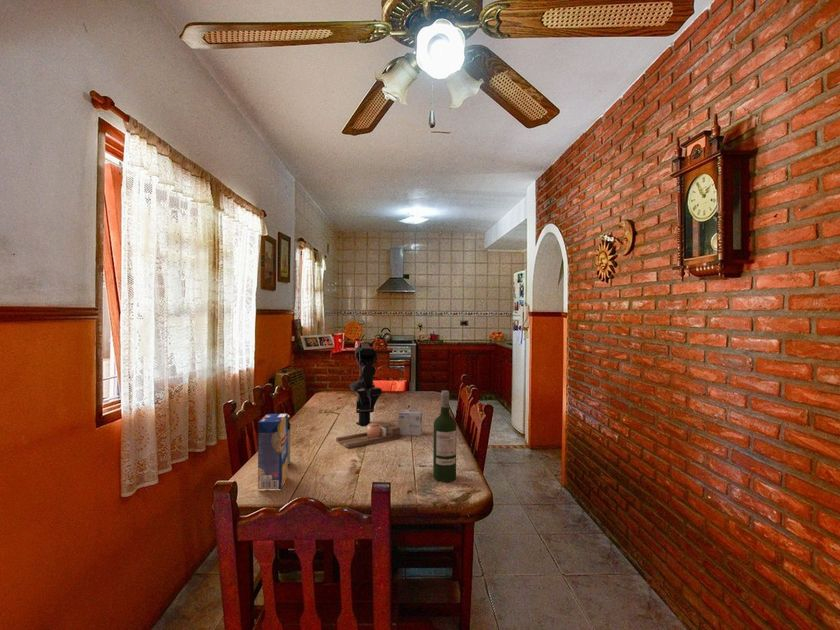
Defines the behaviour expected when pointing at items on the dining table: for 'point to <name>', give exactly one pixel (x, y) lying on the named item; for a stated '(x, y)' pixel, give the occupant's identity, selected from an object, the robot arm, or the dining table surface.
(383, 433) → the bar
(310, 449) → the dining table surface
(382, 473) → the dining table surface
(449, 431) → the wine bottle
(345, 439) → the lane
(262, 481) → the beverage box
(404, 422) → the white carton
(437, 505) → the dining table surface
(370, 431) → the jar
